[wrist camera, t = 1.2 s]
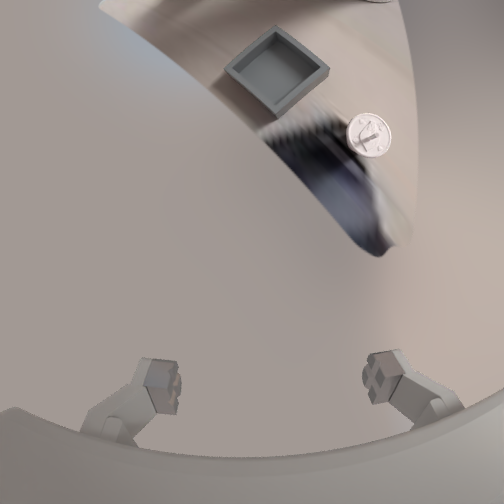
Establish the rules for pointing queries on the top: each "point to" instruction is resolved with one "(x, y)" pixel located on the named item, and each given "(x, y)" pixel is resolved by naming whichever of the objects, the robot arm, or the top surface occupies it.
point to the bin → (277, 70)
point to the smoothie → (368, 135)
